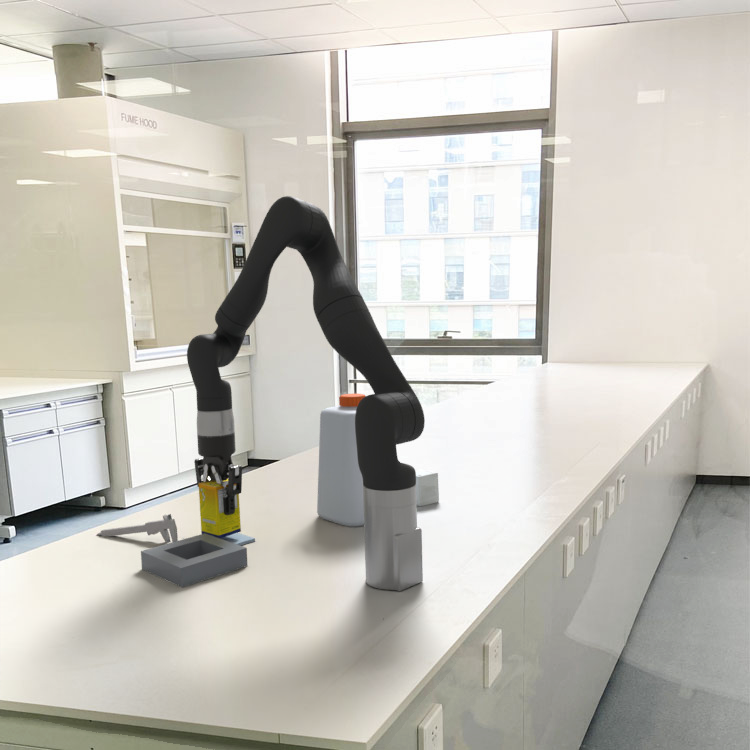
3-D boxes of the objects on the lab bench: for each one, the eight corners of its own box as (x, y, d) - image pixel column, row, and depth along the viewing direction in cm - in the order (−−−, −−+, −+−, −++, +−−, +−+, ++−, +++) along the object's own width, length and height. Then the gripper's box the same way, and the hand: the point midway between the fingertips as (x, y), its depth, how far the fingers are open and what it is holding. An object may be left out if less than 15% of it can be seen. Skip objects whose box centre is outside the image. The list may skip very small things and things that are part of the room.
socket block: (247, 565, 143) (246, 547, 142) (182, 587, 133) (181, 568, 132) (205, 550, 152) (204, 533, 152) (141, 569, 142) (140, 551, 142)
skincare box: (439, 502, 183) (438, 472, 183) (419, 506, 180) (418, 476, 179) (424, 497, 188) (423, 468, 188) (404, 501, 185) (403, 472, 184)
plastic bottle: (351, 530, 163) (347, 401, 160) (309, 516, 174) (305, 395, 171) (403, 516, 173) (400, 394, 170) (360, 503, 184) (356, 389, 181)
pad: (255, 541, 157) (255, 538, 157) (214, 553, 150) (214, 550, 150) (227, 531, 164) (227, 529, 164) (186, 543, 157) (186, 540, 157)
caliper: (178, 543, 158) (176, 514, 158) (174, 545, 157) (173, 515, 157) (99, 535, 166) (98, 507, 165) (96, 536, 165) (94, 508, 164)
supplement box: (223, 527, 161) (220, 476, 160) (241, 532, 157) (239, 480, 156) (200, 534, 157) (197, 482, 156) (218, 539, 153) (216, 486, 152)
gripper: (252, 432, 153) (255, 513, 154) (211, 425, 163) (215, 501, 164) (220, 437, 147) (224, 522, 149) (180, 430, 157) (185, 509, 159)
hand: (220, 511), depth 157 cm, fingers closed on supplement box, 6 cm apart
